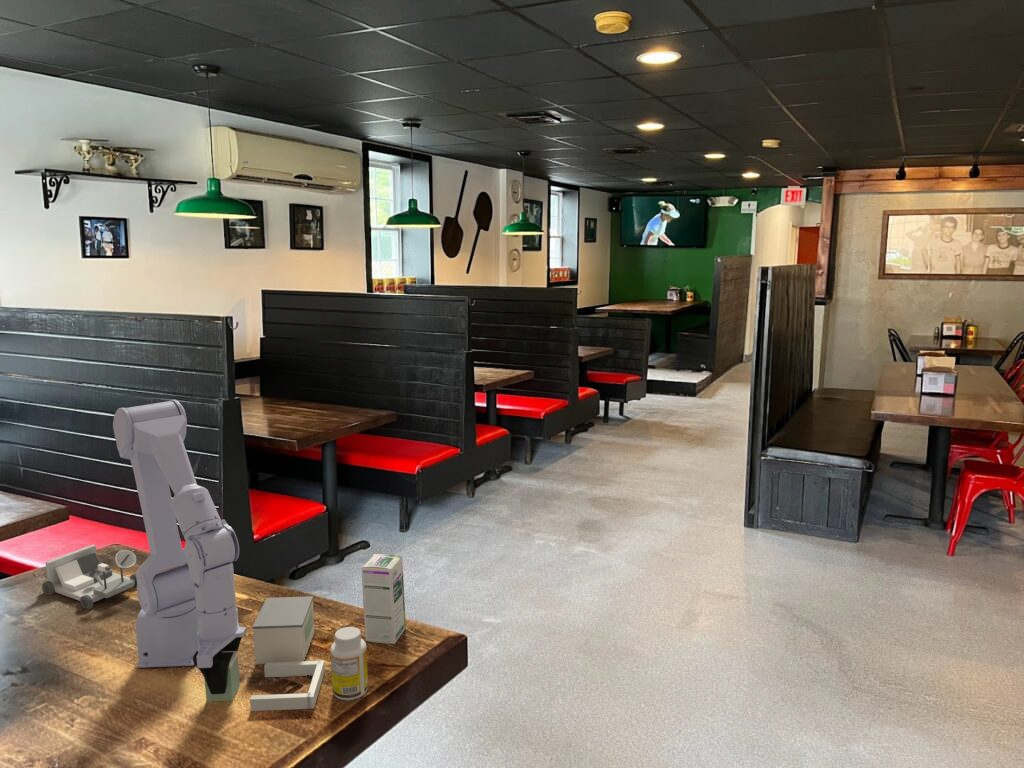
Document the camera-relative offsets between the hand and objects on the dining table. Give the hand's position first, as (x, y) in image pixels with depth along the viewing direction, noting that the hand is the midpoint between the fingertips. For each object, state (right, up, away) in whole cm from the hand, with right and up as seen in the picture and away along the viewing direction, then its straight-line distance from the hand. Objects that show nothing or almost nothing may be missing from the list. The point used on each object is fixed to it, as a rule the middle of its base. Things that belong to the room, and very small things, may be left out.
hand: (222, 684), depth 120 cm
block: (0, -2, 0) cm, 2 cm away
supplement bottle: (+20, -2, +1) cm, 20 cm away
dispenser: (+6, +1, +14) cm, 15 cm away
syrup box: (+23, +2, +18) cm, 29 cm away
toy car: (-39, +5, +35) cm, 52 cm away
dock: (+10, -1, +1) cm, 10 cm away
